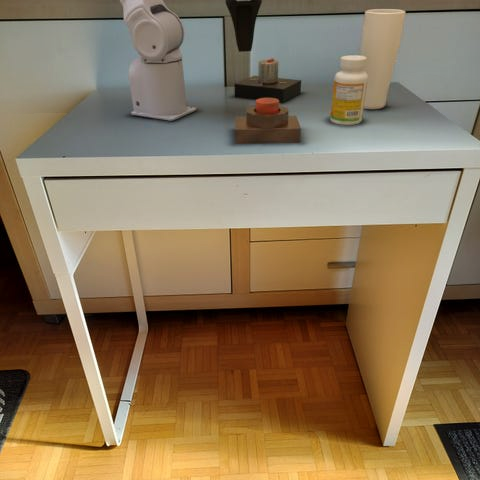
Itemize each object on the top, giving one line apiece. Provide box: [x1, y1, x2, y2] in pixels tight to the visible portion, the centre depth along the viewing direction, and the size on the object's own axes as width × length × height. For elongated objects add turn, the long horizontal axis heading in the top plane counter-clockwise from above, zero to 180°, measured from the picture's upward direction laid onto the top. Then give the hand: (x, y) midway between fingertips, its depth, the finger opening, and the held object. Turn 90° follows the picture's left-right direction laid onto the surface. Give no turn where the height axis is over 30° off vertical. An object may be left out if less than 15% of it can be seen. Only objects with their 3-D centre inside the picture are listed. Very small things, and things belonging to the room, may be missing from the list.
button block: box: [234, 104, 302, 145], centre depth 72 cm, size 10×7×4 cm
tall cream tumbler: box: [359, 8, 406, 110], centre depth 81 cm, size 7×7×15 cm
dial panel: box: [234, 75, 302, 104], centre depth 93 cm, size 11×8×3 cm
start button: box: [255, 98, 280, 114], centre depth 70 cm, size 4×4×2 cm
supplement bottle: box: [330, 54, 368, 126], centre depth 76 cm, size 5×5×10 cm
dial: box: [257, 57, 280, 84], centre depth 91 cm, size 4×4×4 cm
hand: (244, 50), depth 75 cm, fingers closed
